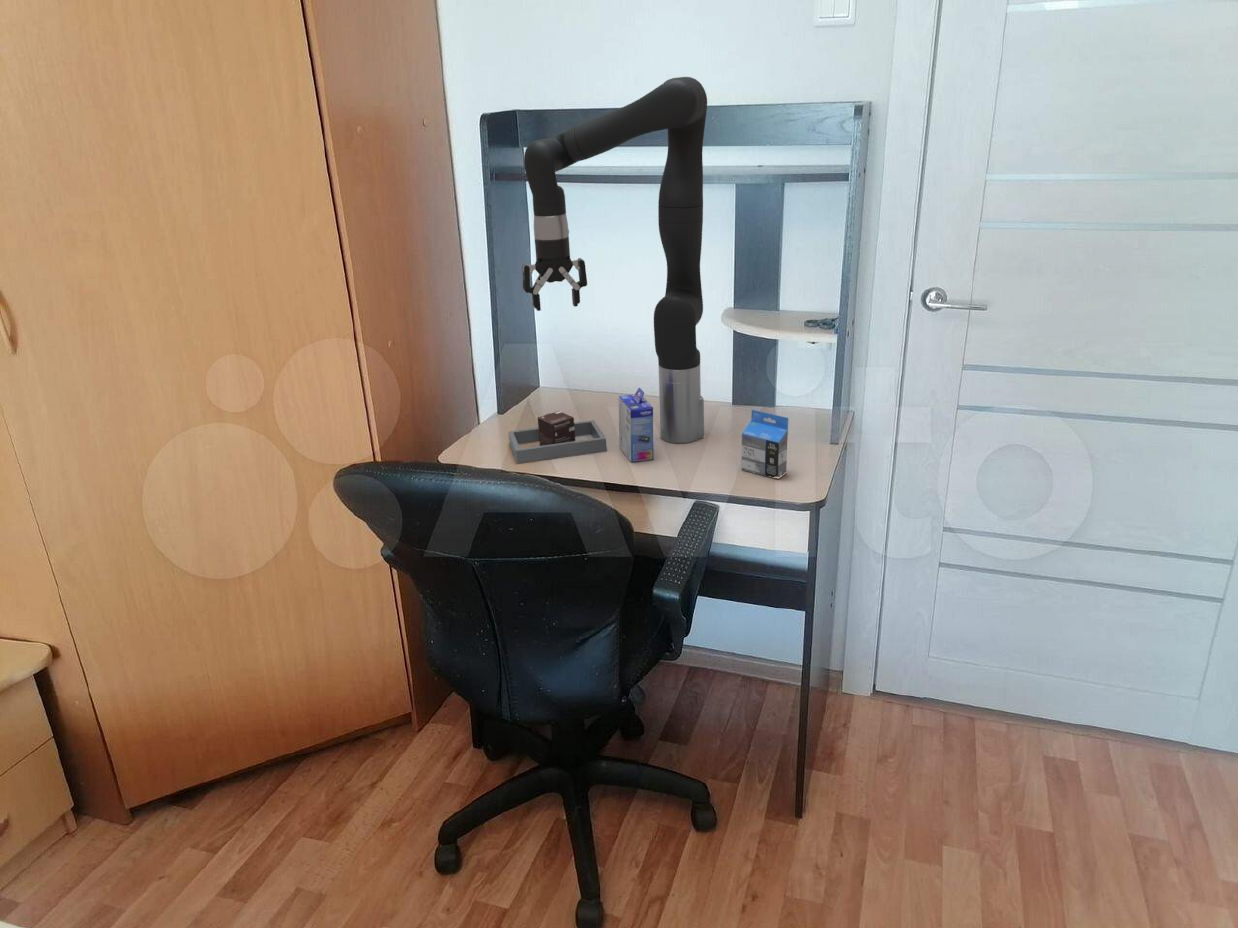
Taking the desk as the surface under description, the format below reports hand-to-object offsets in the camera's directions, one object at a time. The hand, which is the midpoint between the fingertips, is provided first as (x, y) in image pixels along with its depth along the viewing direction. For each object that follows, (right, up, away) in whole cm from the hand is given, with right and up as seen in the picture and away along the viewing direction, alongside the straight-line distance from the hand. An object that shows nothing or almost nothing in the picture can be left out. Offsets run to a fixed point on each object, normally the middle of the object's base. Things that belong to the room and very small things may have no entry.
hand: (556, 308), depth 205 cm
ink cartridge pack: (+44, -37, -18) cm, 60 cm away
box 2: (0, -32, -1) cm, 32 cm away
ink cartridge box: (+18, -33, -6) cm, 38 cm away
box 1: (0, -32, -1) cm, 32 cm away
